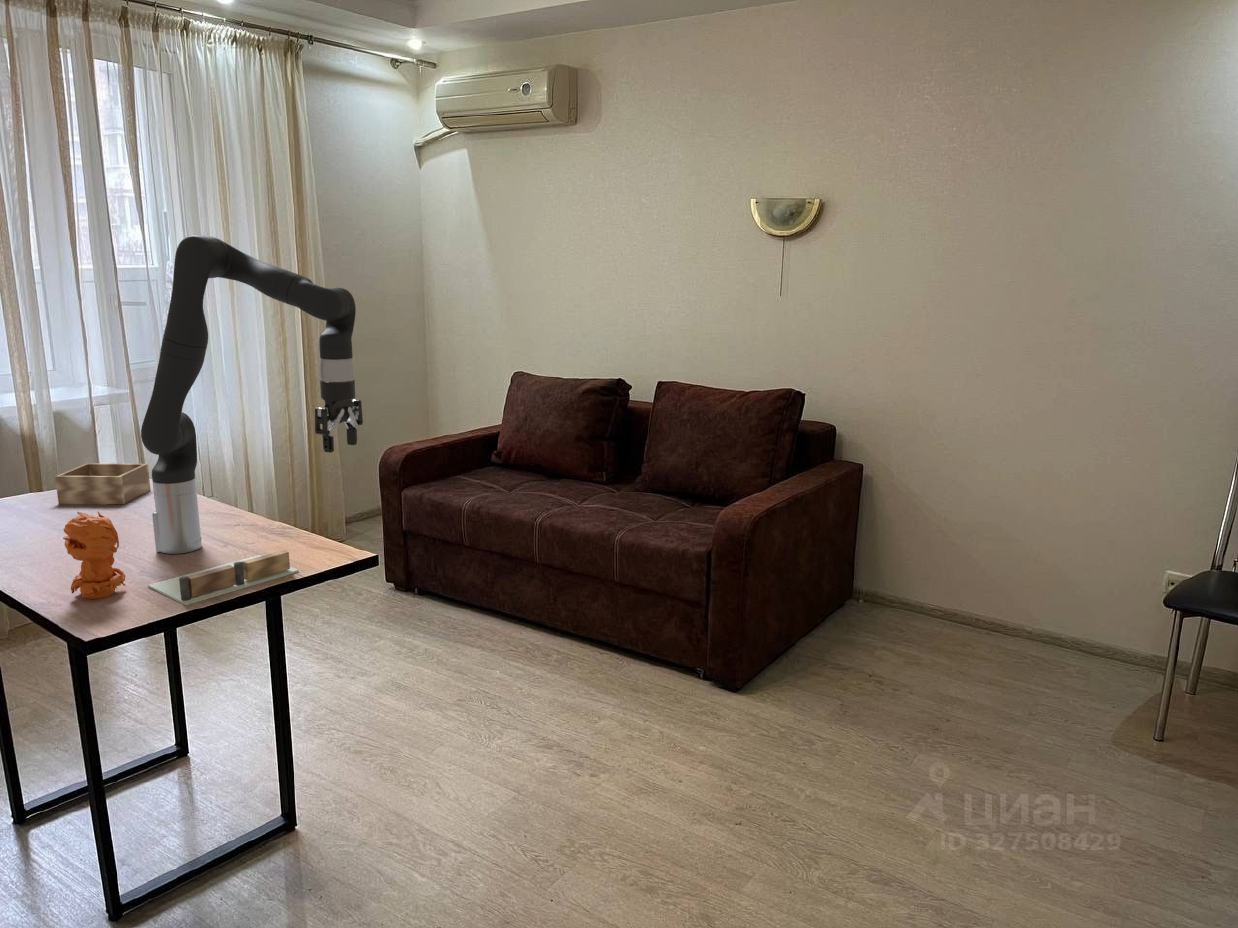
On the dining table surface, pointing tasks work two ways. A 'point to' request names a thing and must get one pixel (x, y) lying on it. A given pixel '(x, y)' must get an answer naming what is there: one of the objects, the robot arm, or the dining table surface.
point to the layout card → (173, 591)
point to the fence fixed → (211, 580)
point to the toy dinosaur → (93, 555)
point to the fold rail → (266, 565)
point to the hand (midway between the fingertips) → (340, 448)
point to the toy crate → (102, 483)
